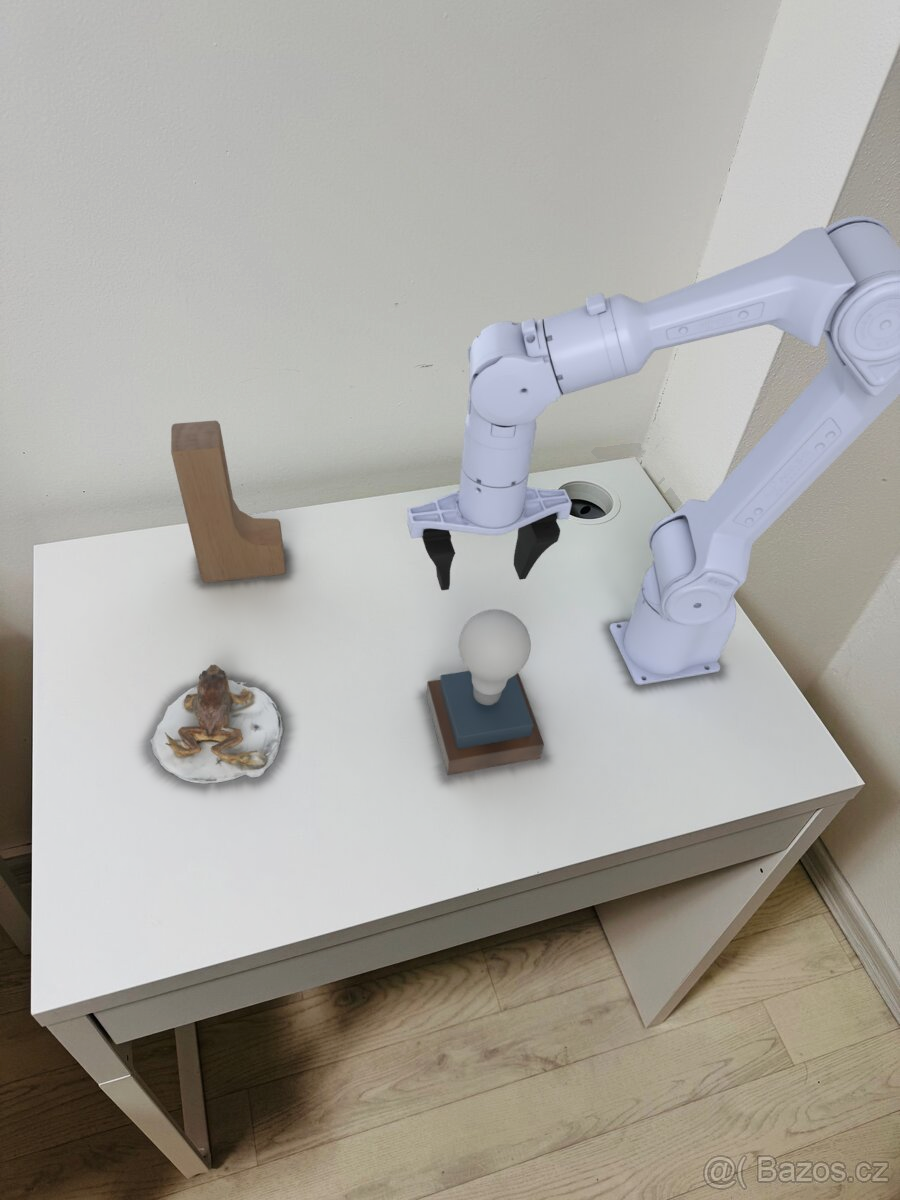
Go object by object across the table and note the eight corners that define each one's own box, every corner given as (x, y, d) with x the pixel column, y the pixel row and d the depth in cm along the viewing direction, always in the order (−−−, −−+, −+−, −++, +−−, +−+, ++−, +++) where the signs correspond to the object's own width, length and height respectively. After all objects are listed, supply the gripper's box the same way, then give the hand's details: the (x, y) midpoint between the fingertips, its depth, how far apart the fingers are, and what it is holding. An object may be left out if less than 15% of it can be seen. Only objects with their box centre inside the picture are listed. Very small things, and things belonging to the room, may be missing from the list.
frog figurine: (152, 688, 81) (144, 664, 78) (278, 673, 83) (274, 649, 80) (147, 793, 73) (138, 771, 71) (286, 774, 76) (282, 752, 73)
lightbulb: (513, 733, 75) (530, 657, 66) (446, 719, 75) (454, 643, 67) (523, 679, 79) (539, 602, 70) (459, 666, 79) (468, 588, 71)
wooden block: (283, 546, 95) (266, 414, 81) (286, 575, 92) (270, 443, 78) (201, 555, 93) (170, 422, 80) (202, 584, 90) (170, 451, 77)
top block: (509, 676, 81) (511, 663, 80) (530, 736, 77) (533, 724, 75) (439, 687, 80) (440, 674, 78) (456, 749, 75) (458, 737, 74)
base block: (513, 681, 84) (516, 666, 82) (540, 758, 78) (544, 744, 76) (426, 696, 82) (427, 681, 80) (447, 775, 76) (448, 761, 75)
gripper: (562, 428, 74) (540, 538, 84) (401, 445, 71) (399, 557, 81) (589, 479, 69) (563, 590, 80) (418, 499, 67) (414, 611, 77)
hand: (481, 577), depth 80 cm, fingers open, 7 cm apart
